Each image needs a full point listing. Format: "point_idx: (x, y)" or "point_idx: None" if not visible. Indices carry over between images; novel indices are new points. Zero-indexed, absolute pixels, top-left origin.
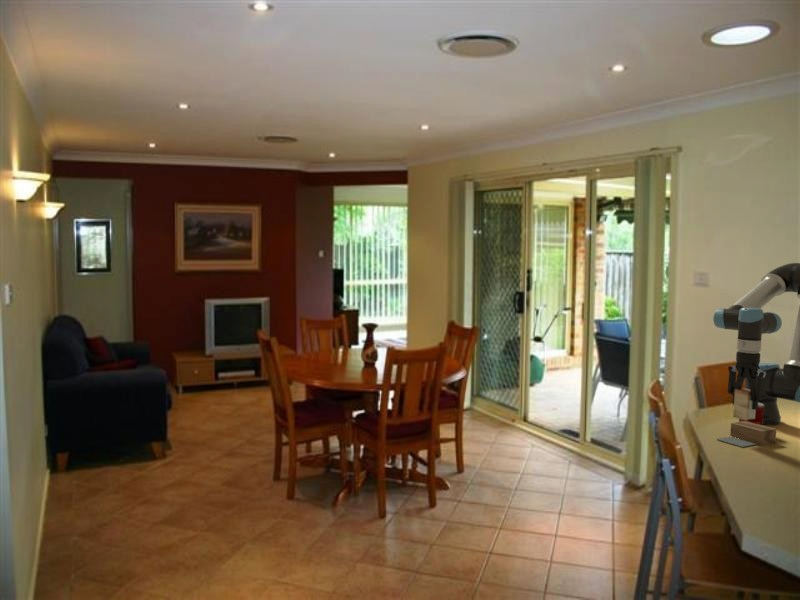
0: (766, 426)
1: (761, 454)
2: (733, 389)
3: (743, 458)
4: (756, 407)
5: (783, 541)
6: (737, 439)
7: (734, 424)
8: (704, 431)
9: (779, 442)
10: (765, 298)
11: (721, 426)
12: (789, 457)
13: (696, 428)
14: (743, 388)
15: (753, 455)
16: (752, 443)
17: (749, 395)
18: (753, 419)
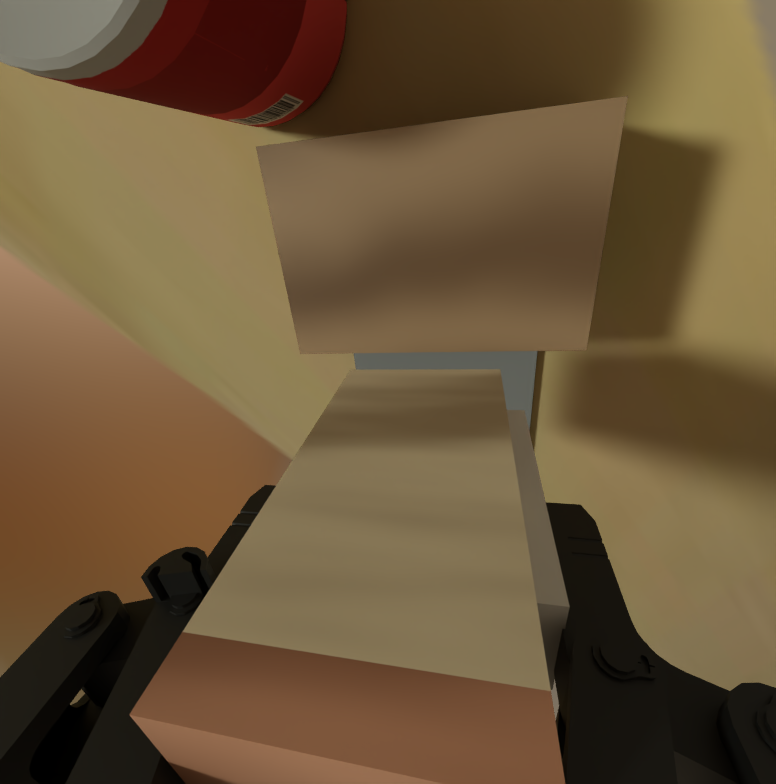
0: (501, 120)
1: (662, 471)
2: (72, 678)
3: (632, 580)
4: (588, 544)
5: None
6: (415, 360)
7: (329, 351)
8: (213, 364)
9: (601, 59)
10: None
11: (100, 138)
12: None
13: (153, 353)
14: (142, 727)
15: (640, 515)
16: (518, 353)
17: None
18: (275, 47)
